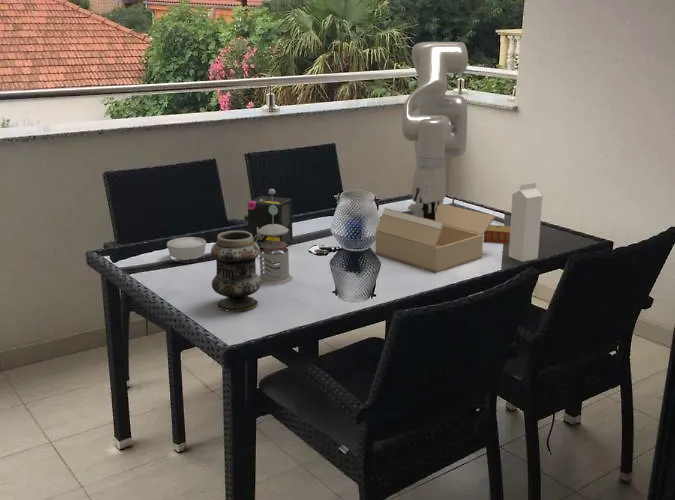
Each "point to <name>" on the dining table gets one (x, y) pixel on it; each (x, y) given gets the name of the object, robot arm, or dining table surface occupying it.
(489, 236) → the carton
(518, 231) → the milk
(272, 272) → the french press
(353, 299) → the dining table surface
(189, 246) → the ramekin
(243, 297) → the apothecary jar
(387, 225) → the near flap
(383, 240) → the kraft box
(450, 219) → the far flap
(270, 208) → the tampon box
